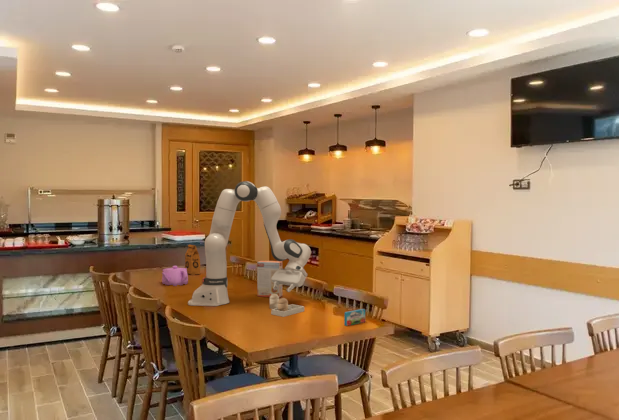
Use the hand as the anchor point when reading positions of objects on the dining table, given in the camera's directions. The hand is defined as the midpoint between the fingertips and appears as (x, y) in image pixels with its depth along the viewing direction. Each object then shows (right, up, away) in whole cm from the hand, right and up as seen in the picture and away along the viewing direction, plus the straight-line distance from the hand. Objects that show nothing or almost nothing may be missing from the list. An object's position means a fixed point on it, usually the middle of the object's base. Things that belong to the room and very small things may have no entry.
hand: (281, 290), depth 272 cm
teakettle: (-76, -7, +69) cm, 103 cm away
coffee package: (-73, -6, +113) cm, 134 cm away
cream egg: (-3, -9, -4) cm, 11 cm away
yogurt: (+36, -11, -34) cm, 51 cm away
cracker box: (-8, -8, +29) cm, 31 cm away
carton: (+4, -10, -15) cm, 18 cm away
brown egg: (+2, -9, -18) cm, 20 cm away
